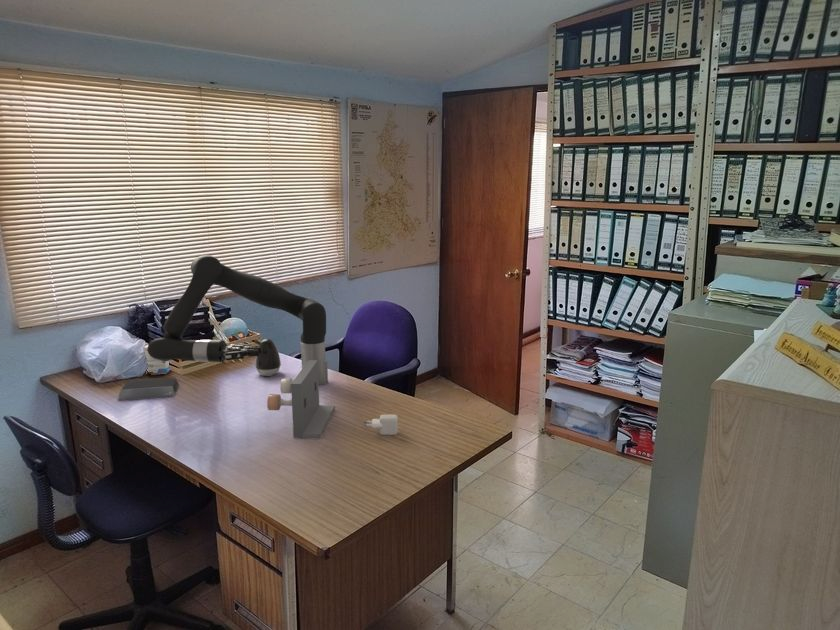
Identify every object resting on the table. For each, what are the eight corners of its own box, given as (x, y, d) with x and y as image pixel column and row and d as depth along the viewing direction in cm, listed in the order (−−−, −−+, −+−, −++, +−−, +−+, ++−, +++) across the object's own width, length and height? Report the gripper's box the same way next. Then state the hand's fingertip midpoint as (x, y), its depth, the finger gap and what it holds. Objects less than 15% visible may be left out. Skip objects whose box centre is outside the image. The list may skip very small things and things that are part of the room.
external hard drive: (174, 397, 223) (173, 387, 222) (117, 401, 219) (116, 391, 218) (179, 385, 235) (178, 375, 234) (125, 389, 231) (124, 379, 230)
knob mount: (293, 438, 189) (291, 383, 184) (310, 408, 212) (308, 360, 208) (320, 438, 188) (318, 384, 184) (334, 409, 211) (333, 360, 207)
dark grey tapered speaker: (260, 369, 253) (258, 335, 250) (284, 370, 252) (282, 335, 249) (251, 377, 244) (249, 341, 240) (276, 378, 243) (274, 342, 239)
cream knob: (280, 395, 204) (280, 381, 203) (284, 390, 209) (284, 376, 207) (311, 396, 203) (310, 382, 202) (314, 390, 208) (313, 377, 207)
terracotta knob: (267, 412, 189) (266, 397, 188) (272, 406, 194) (271, 391, 193) (300, 413, 189) (299, 398, 187) (304, 407, 194) (303, 392, 192)
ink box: (172, 371, 251) (169, 344, 248) (165, 375, 246) (163, 347, 243) (152, 370, 252) (149, 343, 249) (146, 374, 247) (143, 346, 244)
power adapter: (362, 436, 190) (362, 419, 189) (363, 430, 195) (363, 413, 193) (398, 436, 190) (398, 419, 189) (398, 430, 195) (398, 413, 194)
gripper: (200, 345, 196) (253, 346, 196) (216, 334, 210) (265, 335, 209) (202, 367, 198) (254, 368, 197) (218, 355, 211) (266, 356, 211)
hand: (259, 351), depth 203 cm, fingers closed
